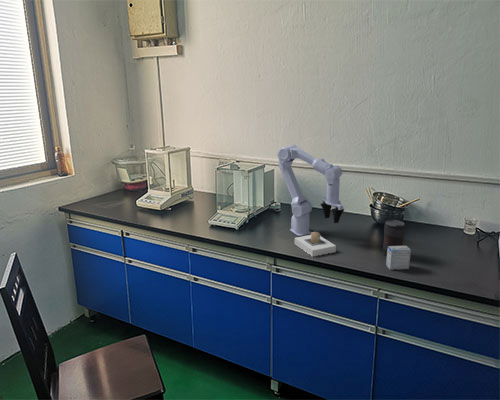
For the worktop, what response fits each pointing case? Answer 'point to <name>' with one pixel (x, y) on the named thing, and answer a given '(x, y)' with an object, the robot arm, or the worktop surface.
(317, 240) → the peg
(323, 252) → the socket board
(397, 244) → the camera lens
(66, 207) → the worktop surface
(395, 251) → the medicine box
